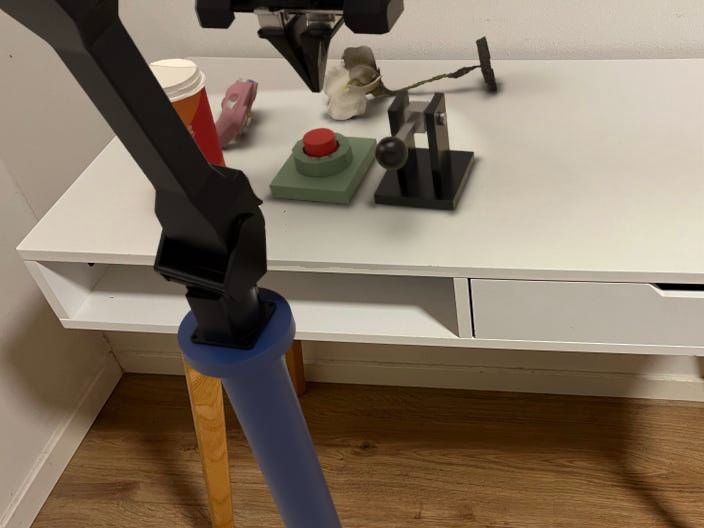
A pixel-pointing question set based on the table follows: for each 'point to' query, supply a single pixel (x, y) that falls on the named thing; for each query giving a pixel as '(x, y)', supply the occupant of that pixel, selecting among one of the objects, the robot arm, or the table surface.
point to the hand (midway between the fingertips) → (317, 90)
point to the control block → (325, 171)
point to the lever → (402, 137)
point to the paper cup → (190, 103)
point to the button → (320, 142)
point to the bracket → (425, 162)
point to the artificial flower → (379, 79)
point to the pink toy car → (236, 110)
